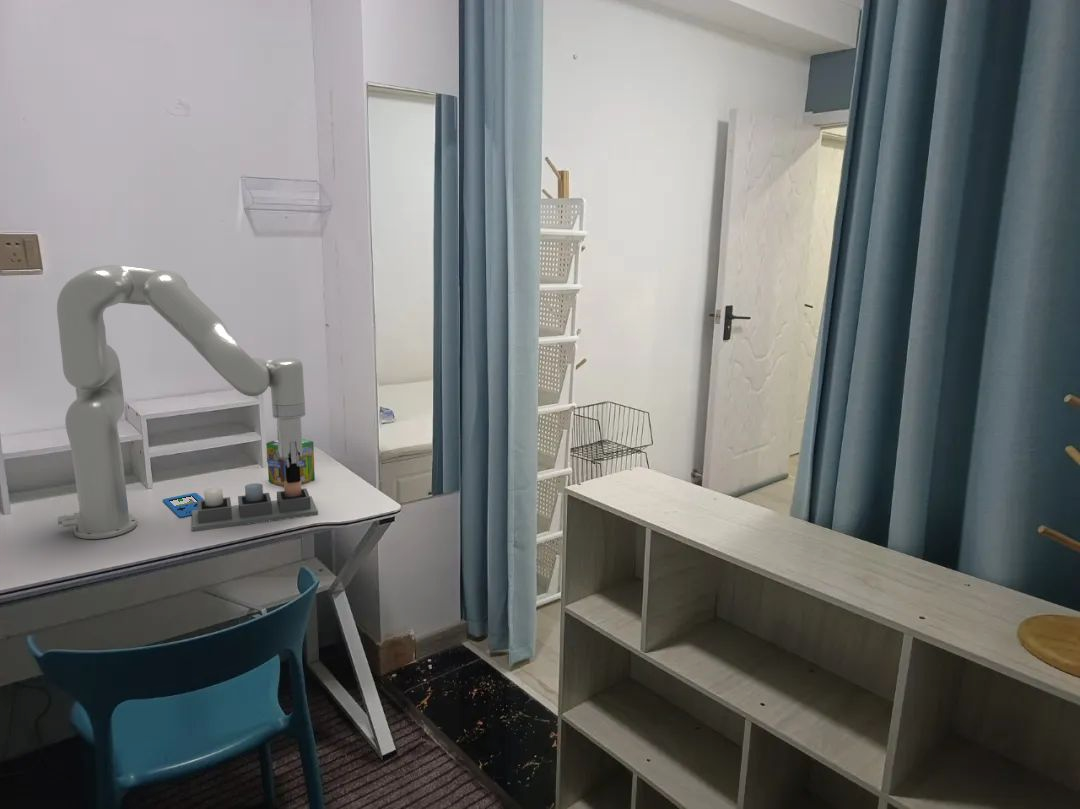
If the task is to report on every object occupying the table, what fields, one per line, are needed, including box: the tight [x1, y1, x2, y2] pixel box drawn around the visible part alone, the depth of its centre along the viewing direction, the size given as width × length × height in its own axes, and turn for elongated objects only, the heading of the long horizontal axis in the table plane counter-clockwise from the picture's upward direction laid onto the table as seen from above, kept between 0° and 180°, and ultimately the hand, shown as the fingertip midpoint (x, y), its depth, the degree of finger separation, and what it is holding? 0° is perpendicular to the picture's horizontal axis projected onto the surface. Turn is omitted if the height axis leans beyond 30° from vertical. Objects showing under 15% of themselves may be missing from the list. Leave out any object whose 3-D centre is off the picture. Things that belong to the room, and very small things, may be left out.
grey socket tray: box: [191, 487, 319, 532], centre depth 176 cm, size 28×11×4 cm, turn 115°
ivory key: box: [203, 487, 224, 506], centre depth 172 cm, size 4×4×3 cm
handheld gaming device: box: [162, 492, 205, 519], centre depth 181 cm, size 8×1×15 cm
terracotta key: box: [283, 480, 302, 497], centre depth 179 cm, size 4×4×3 cm
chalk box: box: [265, 437, 316, 487], centre depth 199 cm, size 9×9×15 cm
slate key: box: [244, 482, 264, 501], centre depth 176 cm, size 4×4×3 cm
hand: (293, 481), depth 179 cm, fingers closed
